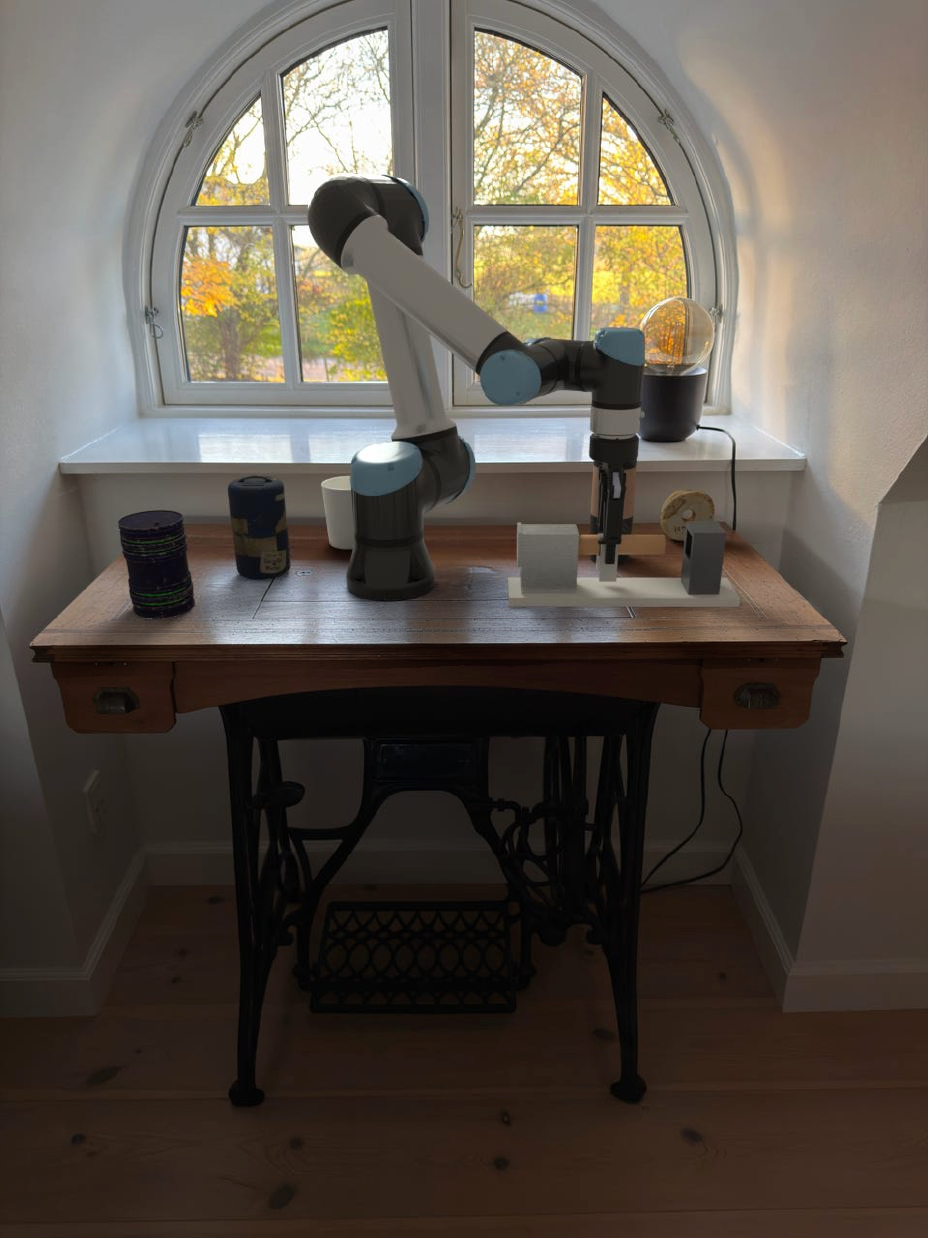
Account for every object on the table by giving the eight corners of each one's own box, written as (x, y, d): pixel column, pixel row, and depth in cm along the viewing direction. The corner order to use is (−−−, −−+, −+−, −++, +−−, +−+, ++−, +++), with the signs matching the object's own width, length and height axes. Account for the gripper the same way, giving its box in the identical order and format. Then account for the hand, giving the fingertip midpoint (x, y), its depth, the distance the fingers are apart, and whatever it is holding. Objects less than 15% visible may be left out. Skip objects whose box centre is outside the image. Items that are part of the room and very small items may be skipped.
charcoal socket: (688, 594, 144) (694, 532, 140) (680, 580, 149) (686, 521, 145) (719, 594, 144) (726, 532, 139) (710, 581, 149) (717, 521, 145)
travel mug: (628, 552, 167) (636, 446, 159) (631, 566, 160) (639, 456, 152) (587, 551, 168) (593, 445, 160) (588, 565, 161) (594, 455, 153)
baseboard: (508, 606, 144) (508, 597, 143) (507, 585, 152) (507, 577, 151) (739, 606, 143) (740, 598, 142) (725, 585, 151) (726, 577, 150)
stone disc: (706, 535, 176) (711, 485, 172) (713, 541, 172) (719, 491, 168) (655, 537, 175) (659, 488, 171) (661, 543, 171) (665, 493, 167)
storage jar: (124, 604, 146) (108, 517, 140) (183, 591, 151) (170, 506, 145) (144, 624, 138) (128, 533, 132) (205, 609, 144) (192, 521, 138)
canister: (251, 563, 163) (240, 466, 156) (300, 566, 161) (291, 469, 154) (228, 582, 155) (215, 480, 147) (279, 585, 153) (269, 483, 146)
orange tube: (527, 558, 143) (528, 537, 142) (526, 551, 147) (527, 530, 145) (664, 558, 143) (666, 537, 141) (660, 551, 146) (662, 530, 145)
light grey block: (517, 593, 145) (518, 532, 141) (516, 581, 150) (517, 522, 145) (576, 593, 145) (579, 532, 140) (573, 581, 149) (576, 522, 145)
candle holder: (378, 549, 170) (375, 488, 165) (326, 552, 168) (321, 490, 163) (374, 533, 178) (371, 474, 174) (325, 536, 177) (320, 477, 172)
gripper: (648, 445, 129) (636, 595, 138) (631, 422, 144) (621, 558, 154) (596, 446, 129) (588, 595, 139) (584, 422, 144) (578, 558, 154)
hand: (605, 575), depth 146 cm, fingers closed on orange tube, 4 cm apart
